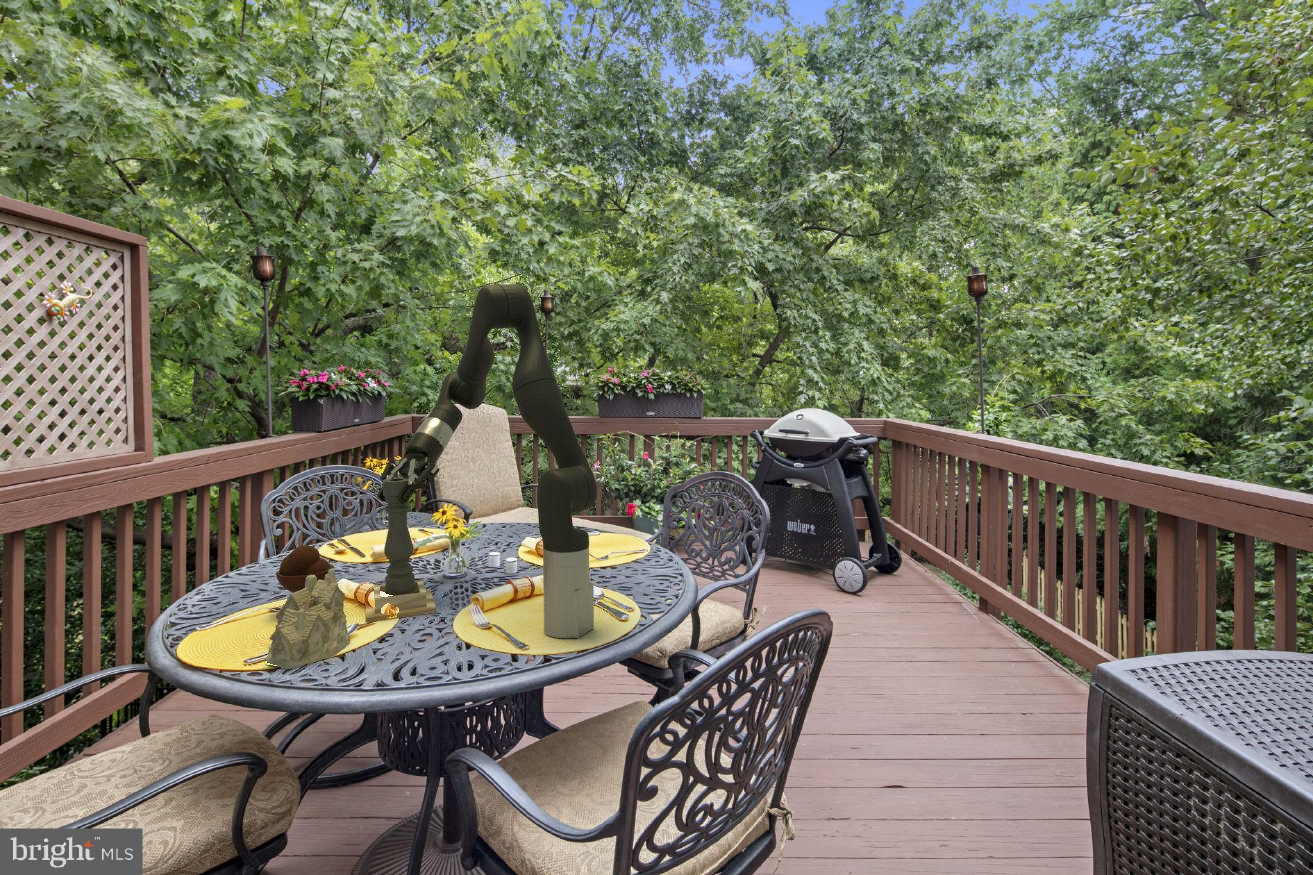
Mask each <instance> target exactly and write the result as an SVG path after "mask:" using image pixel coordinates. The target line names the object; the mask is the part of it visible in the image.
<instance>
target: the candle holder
mask: <svg viewBox="0 0 1313 875" xmlns="http://www.w3.org/2000/svg"><path fill="white" fill-rule="evenodd" d="M408 479H409V478H396V477H394V478H392V479H385V480H383V481H382V486H383V496H385V500H386V501H385V502H386V503H387V505H386V506H385V507H384V511H385V512H386V513H387V517H388V518H387V519H388V529H387V534H386V539H385V544H384V548H383V551H384V552H383V554H384V556H385V558H386V559H387V560H388V563H389V565H388V566H387V568H386V569H385V573H386V575H385V578H384V579H385V580H384V585H385V588H386V594H389V595H403V594H407V593H410V592H413V591H414V590H415V581H416V579H415V577H416V576H415V573H414V572H413V571H414V567H413V566H412V565H411V563H410V562H411V557H412V555H413V554H414V544H413V541H412V538H411V534H410V531H409V526H408V516H407V514H408V511H409V510H410V509H411V508H410V505H409V504H408V503H406V504H401V503H400V502H399V501H398V499H397V498H398V496H399V495H400V493H401V492H402V490H403V489H404V487H405V486H406V485H408Z"/></svg>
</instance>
